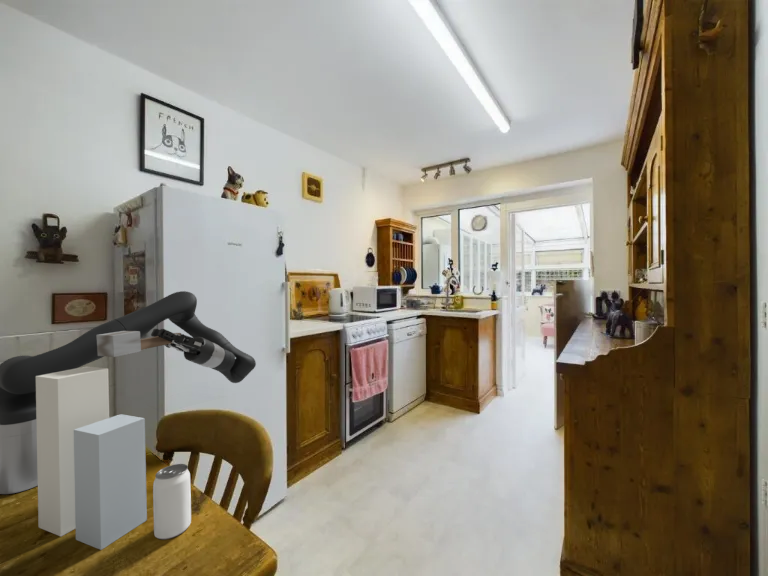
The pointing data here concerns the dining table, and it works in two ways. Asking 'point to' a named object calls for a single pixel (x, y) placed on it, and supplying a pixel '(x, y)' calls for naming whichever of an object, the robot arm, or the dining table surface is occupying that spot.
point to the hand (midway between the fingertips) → (156, 332)
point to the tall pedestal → (64, 438)
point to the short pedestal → (109, 479)
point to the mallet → (126, 343)
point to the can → (171, 501)
